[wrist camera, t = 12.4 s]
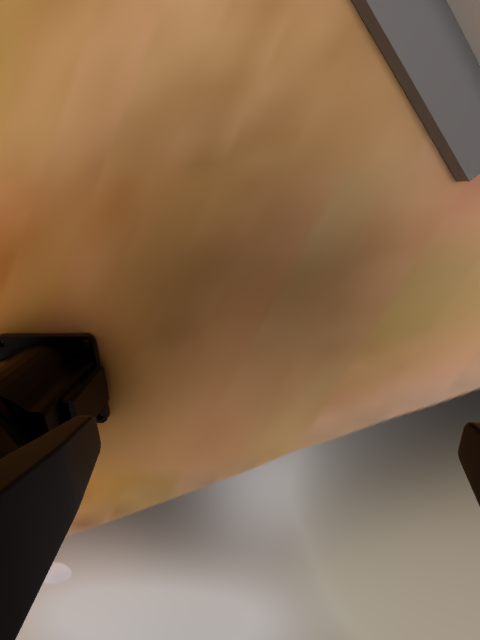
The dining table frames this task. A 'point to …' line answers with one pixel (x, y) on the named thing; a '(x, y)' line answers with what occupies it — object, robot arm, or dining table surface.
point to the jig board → (435, 69)
